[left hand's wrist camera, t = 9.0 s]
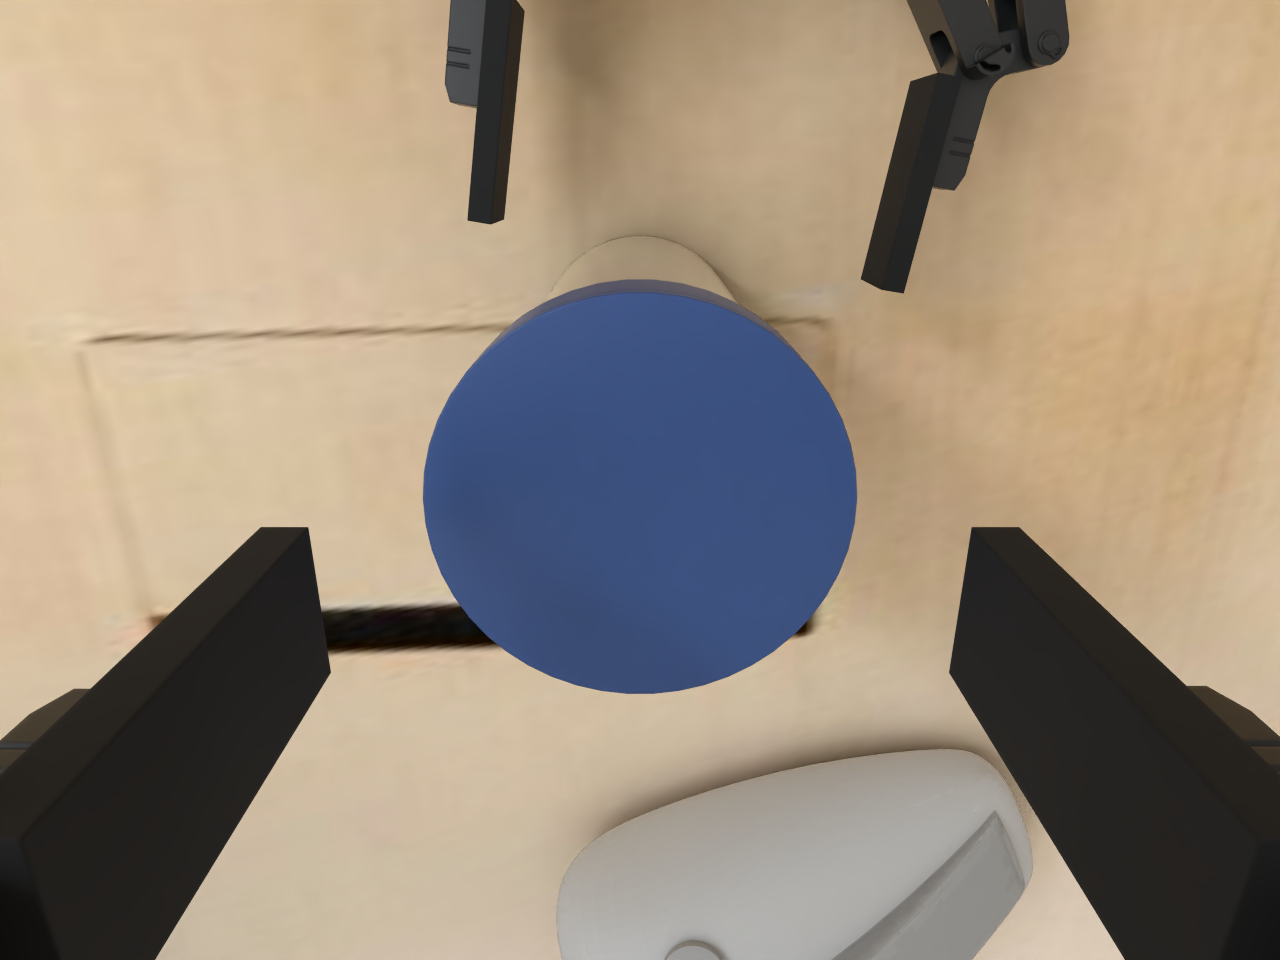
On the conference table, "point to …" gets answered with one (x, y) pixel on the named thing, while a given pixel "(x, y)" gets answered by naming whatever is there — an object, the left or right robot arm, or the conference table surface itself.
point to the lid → (640, 488)
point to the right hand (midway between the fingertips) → (686, 255)
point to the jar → (639, 266)
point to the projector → (808, 867)
